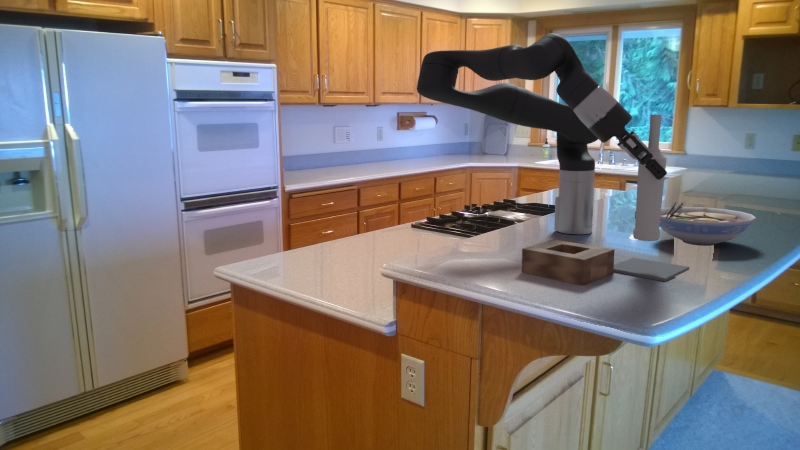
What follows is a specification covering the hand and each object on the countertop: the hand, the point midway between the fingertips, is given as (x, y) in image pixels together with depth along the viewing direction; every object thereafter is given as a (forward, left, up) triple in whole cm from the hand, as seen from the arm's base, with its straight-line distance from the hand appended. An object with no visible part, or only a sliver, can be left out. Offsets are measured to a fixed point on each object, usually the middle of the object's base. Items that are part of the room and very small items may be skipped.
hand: (660, 174), depth 116 cm
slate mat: (-1, 0, -20) cm, 20 cm away
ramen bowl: (-3, +34, -20) cm, 40 cm away
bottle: (-2, -1, -13) cm, 13 cm away
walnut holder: (-12, -13, -20) cm, 27 cm away
